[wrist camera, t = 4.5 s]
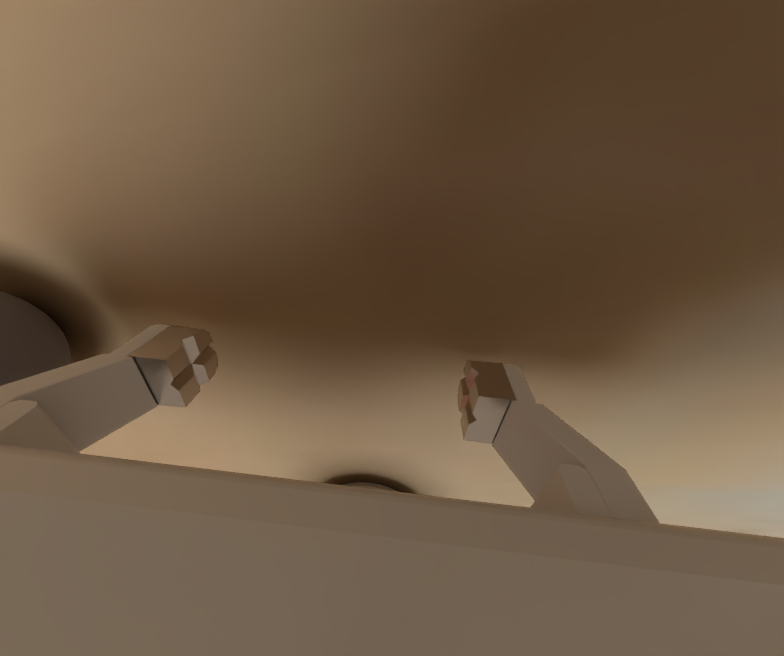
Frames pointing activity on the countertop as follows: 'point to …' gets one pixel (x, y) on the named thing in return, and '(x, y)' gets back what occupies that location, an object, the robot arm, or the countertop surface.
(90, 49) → the countertop surface
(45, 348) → the dark gray ball
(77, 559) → the robot arm
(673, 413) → the countertop surface
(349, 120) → the countertop surface
